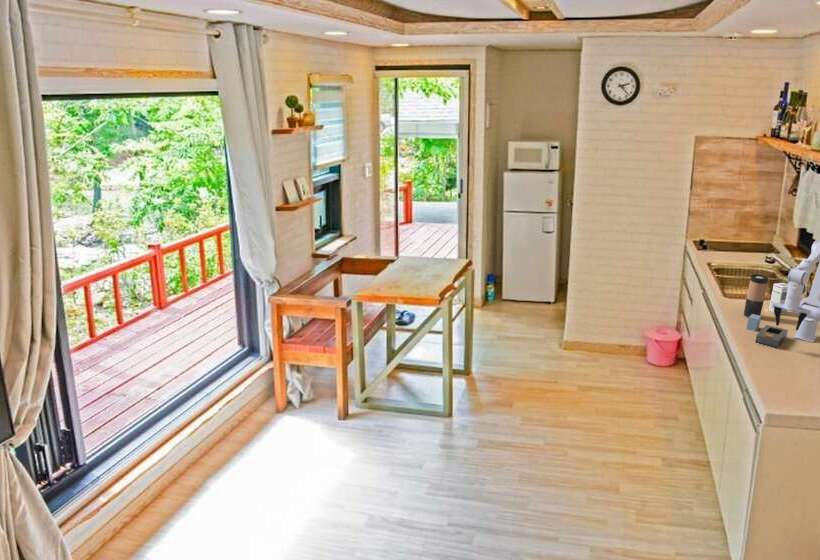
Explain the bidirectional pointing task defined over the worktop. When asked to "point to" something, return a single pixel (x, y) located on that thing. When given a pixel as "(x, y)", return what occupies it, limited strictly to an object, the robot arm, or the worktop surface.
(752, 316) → the plug
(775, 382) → the worktop surface
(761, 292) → the travel mug
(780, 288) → the syrup box
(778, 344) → the grey slotted block
